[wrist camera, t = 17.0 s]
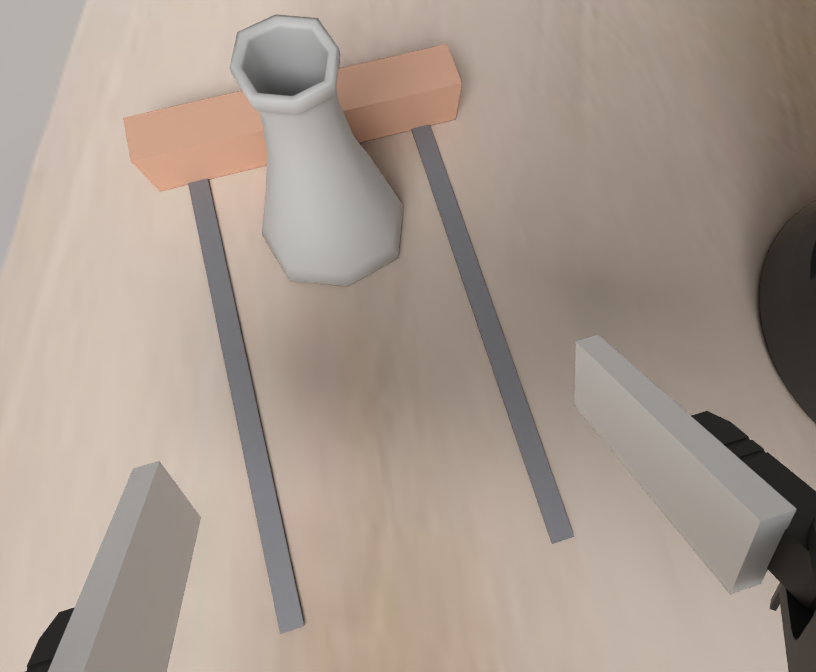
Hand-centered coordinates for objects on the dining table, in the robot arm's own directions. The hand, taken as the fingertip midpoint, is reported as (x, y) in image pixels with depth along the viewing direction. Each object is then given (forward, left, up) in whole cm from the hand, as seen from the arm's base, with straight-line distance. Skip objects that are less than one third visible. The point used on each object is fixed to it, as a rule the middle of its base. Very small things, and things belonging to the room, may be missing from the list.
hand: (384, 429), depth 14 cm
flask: (0, -11, -7) cm, 13 cm away
